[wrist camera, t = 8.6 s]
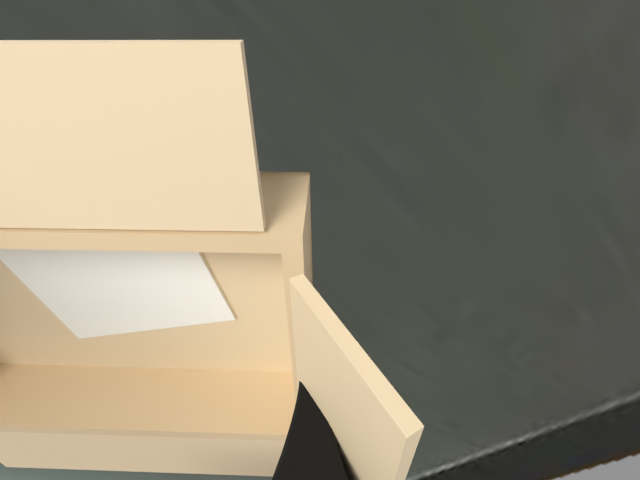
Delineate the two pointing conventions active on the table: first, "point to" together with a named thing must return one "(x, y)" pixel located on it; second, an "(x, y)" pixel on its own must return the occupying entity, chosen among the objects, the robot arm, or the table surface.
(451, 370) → the table surface
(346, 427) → the flap
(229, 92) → the carton
